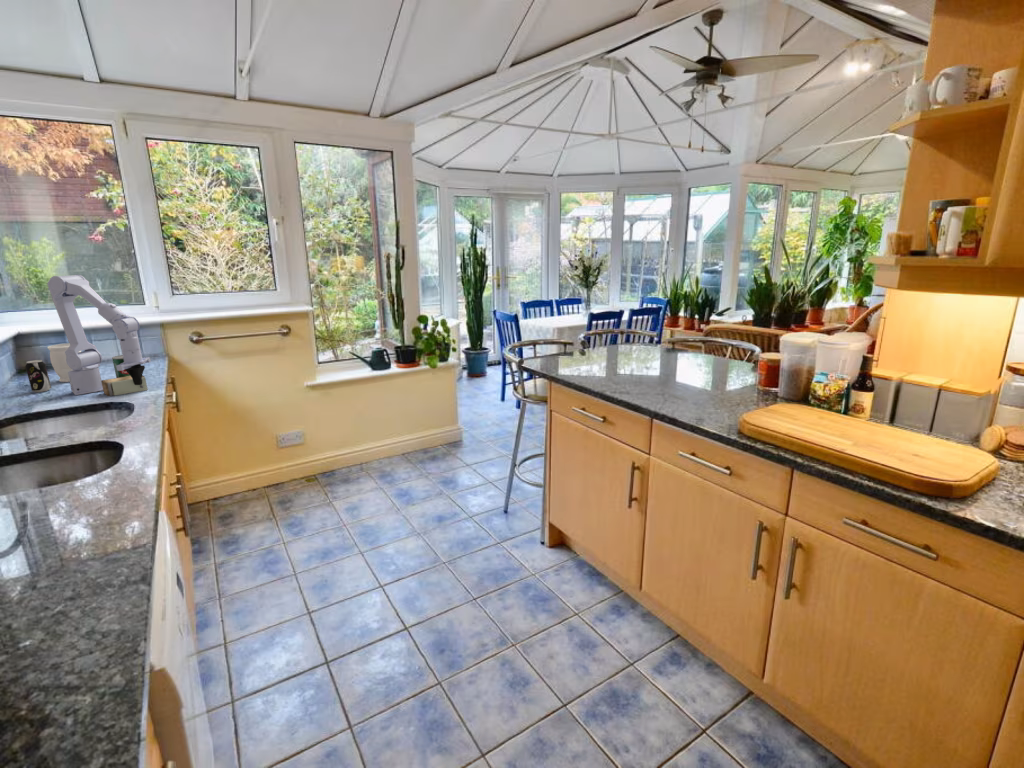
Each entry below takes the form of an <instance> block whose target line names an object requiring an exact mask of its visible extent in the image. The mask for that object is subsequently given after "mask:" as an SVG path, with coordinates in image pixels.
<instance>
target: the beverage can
mask: <svg viewBox="0 0 1024 768" xmlns="http://www.w3.org/2000/svg"><path fill="white" fill-rule="evenodd" d="M25 371H26V374H27V377H28V381H29V385H30V389H31V392H34V393H44V392H47V391H50V389H52V384H51V381H50V377H49V373H48V369H47V365H46V363H45V362H43V360H42V359H35V360H29V361H26V364H25Z"/></svg>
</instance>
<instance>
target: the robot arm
mask: <svg viewBox="0 0 1024 768" xmlns="http://www.w3.org/2000/svg"><path fill="white" fill-rule="evenodd" d="M49 278H50V279H48V282H47V283H46V285H47V287H48V289H49V292H50V295H51V298H52V301H53V304H54V307H55V310H56V312H57V315H58V318H59V321H60V323H61V325H62V328H63V331H64V333H65V336H66V339H67V340H68V341H67V342H68V343H69V344H70V346H69V347H68V349H67V350H66V351H65V354H66V362H67V365H68V366H69V367H70V368H71V369H72V370H73V371H68V376H69V381H70V382H69V384H70V389H71V392H72V393H73V394H74V395H75V396H78V395H83V394H91V393H96V392H104V391H103V386H102V382H101V380H102V377H101V373H100V368H99V367H101V365H100V364H101V363H103V357H102V353H101V352H100V351H99V350H98V349H97V346H96V345H94V344H93V343H90V342H89V341H88V339H87V336H86V333H85V330H84V328H83V326H82V325H83V324H82V322H81V320H80V317H79V315H78V312H77V309H76V307H75V304H74V301H75V299H76V298H77V297H79V296H80V297H82V298H83V299H84V300H86V301H87V302H88V303H89V304H90V305H92V306H94V307H95V308H96V309H97V313H98V315H100V316H101V317H102V318H103V319H104V320H106V322H108V323H109V324H111V329H112V331H113V332H114V333H115V334H116V338H117V339H118V341H119V344H120V349H121V353H122V354H121V355H123V359H124V362H123V363H121V364H119V365H117V366H116V368H117V371H123V370H124V369H125V370H126V371H127V372H128V373H129V374H130V376H131V377H132V379H133V382H134V384H135V385H142V375H143V373H144V371H145V369H146V367H145V365H143V364H147V363H149V364H150V363H151V361H152V360H151V357H150V356H149V357H148V356H146V357H145V356H144V357H143V355H142V350H141V345H140V341H139V340H140V339H139V335H138V331H139V330H140V327H141V326H140V323H139V320H137V318H136V317H134V316H129V315H127V314H126V313H124V312H123V311H122V310H120V309H119V308H118V306H117V305H116V304H115V303H112V302H106V301H105V300H104V298H102V297H101V296H100V295H99V293H97V292H96V291H95V290H94V289H93V288H92V287H91V286H90V281H89V280H88V279H86V277H84V276H83V275H81V274H74V275H72V274H71V275H54V276H51V277H49ZM79 351H81V352H79ZM78 352H79V353H78Z"/></svg>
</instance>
